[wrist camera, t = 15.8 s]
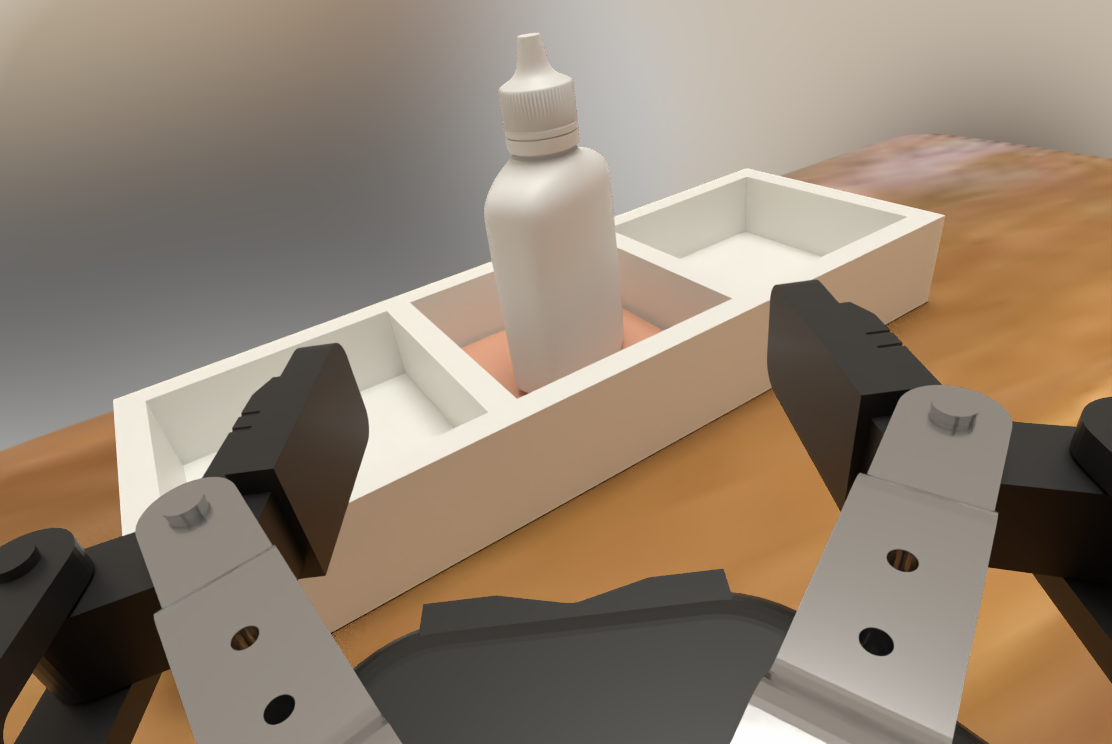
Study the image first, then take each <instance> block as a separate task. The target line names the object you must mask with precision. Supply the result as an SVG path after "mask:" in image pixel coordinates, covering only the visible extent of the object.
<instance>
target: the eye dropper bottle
mask: <svg viewBox="0 0 1112 744" xmlns="http://www.w3.org/2000/svg"><path fill="white" fill-rule="evenodd" d="M498 95H499V102H500V108H501V113H502V120H503V125H504V132H505V138H506V144H507V149H508V152H509V153H510V154H513V155H512V156H511V157H510V160H509V161H508V162H507V163H506V165H505V166H504V167H503V169H502V170H501V171H500V173H499V174H498V176H497V177H496V179H495V180H494V182H493V184H492V186H491V188H490V190H489V193H488V196H487V199H486V203H485V209H484V216H485V225H486V231H487V236H488V242H489V248H490V254H491V259H492V264H493V269H494V275H495V280H496V285H497V290H498V295H499V301H500V306H501V311H502V316H503V321H504V326H505V331H506V336H507V341H508V347H509V352H510V357H511V362H512V367H513V372H514V377H515V381H516V384H517V387H518V388H519V389H520V390H522V391H523V392H526V393H531V392H533V391H535V390H537V389H540V388H542V387H544V386H546V385H548V384H550V383H552V382H555V381H557V380H559V379H561V378H563V377H565V376H567V375H570V374H572V373H574V372H576V371H578V370H580V369H582V368H585V367H587V366H589V365H591V364H593V363H595V362H597V361H600V360H602V359H604V358H606V357H608V356H610V355H612V354H615V353H617V352H619V351H620V350H621V347H622V343H623V336H624V326H623V314H622V301H621V290H620V278H619V266H618V254H617V243H616V231H615V220H614V209H613V199H612V189H611V180H610V173H609V168H608V165H607V162H606V161H605V159H604V158H603V157H602V156H601V155H600V154H599V153H598V152H596V151H594V150H592V149H589V148H585V147H578V146H577V144H578V143H579V141H580V138H579V129H578V120H577V110H576V101H575V91H574V82H573V79H571V77H569V76H567V75H564V74H561V73H558V72H556V71H555V70H554V69H553V68H552V67H551V66H550V64H549V62H548V59H547V55H546V52H545V49H544V46H543V43H542V39H541V36H540V33H531V34H524V35H520V36H518V37H517V66H516V71H515V74H514V76H513V77H512V78H511V79H510V80H509V81H508V82H506V83H505V84H504V85H502V86H501V87H500V89H499V90H498Z"/></svg>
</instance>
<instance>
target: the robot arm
mask: <svg viewBox="0 0 1112 744" xmlns="http://www.w3.org/2000/svg"><path fill="white" fill-rule="evenodd" d="M767 369H768V375H769V380H770V383H771V386H772V389H773V391H774V393H775V395H776V397H777V398H778V400H779V402H780V404H781V406H782V407H783V409H784V411H785V413H786V415H787V416H788V418H789V420H790V422H791V423H792V425H793V427H794V429H795V431H796V432H797V434H798V436H799V438H800V440H801V441H802V443H803V445H804V447H805V449H806V450H807V452H808V454H809V456H810V458H811V459H812V461H813V463H814V465H815V467H816V468H817V470H818V472H819V474H820V476H821V477H822V479H823V481H824V483H825V485H826V486H827V488H828V490H829V492H830V493H831V495H832V497H833V499H834V501H835V502H836V504H837V506H838V508H839V510H840V511H841V513H840V515H839V517H838V520H837V522H836V524H835V526H834V529H833V531H832V533H831V535H830V538H829V540H828V542H827V544H826V547H825V549H824V551H823V553H822V556H821V558H820V560H819V562H818V565H817V567H816V569H815V571H814V574H813V576H812V578H811V580H810V583H809V585H808V587H807V589H806V592H805V594H804V596H803V598H802V601H801V603H800V605H799V608H798V610H797V611H796V610H793V609H791V608H789V607H786V606H784V605H782V604H779V603H776V602H773V601H770V600H767V599H764V598H760V597H756V596H751V595H746V594H741V593H733V592H730V588H729V585H728V582H727V579H726V576H725V573H724V570H723V569H717V570H709V571H700V572H692V573H683V574H675V575H666V576H658V577H650V578H646V579H643V580H640V581H638V582H635V583H632V584H629V585H626V586H623V587H620V588H618V589H615V590H612V591H609V592H606V593H603V594H601V595H598V596H595V597H592V598H589V599H586V600H583V601H580V602H577V603H559V602H550V601H541V600H531V599H522V598H513V597H504V596H489V597H481V598H472V599H464V600H456V601H447V602H439V603H430V604H423V611H422V617H421V624H420V629H419V630H416V631H414V632H411V633H409V634H407V635H405V636H402V637H400V638H398V639H396V640H394V641H392V642H391V643H389V644H387V645H386V646H384V647H382V648H381V649H379V650H377V651H376V652H374V653H373V654H372V655H370V656H369V657H368V658H366V659H365V660H363V661H362V662H361V663H360V664H358V665H357V666H356V667H355V668H354V669H353V668H352V667H351V665H350V663H349V662H348V660H347V659H346V657H345V655H344V654H343V652H342V651H341V649H340V648H339V646H338V644H337V643H336V641H335V640H334V638H333V636H332V635H331V633H330V632H329V630H328V628H327V627H326V625H325V624H324V622H323V620H322V619H321V617H320V616H319V614H318V612H317V611H316V609H315V608H314V606H313V604H312V603H311V601H310V600H309V598H308V597H307V595H306V593H305V592H304V590H303V589H302V587H301V585H300V584H299V582H298V579H304V578H312V577H320V576H326V573H327V570H328V567H329V564H330V561H331V557H332V554H333V551H334V548H335V545H336V542H337V538H338V535H339V532H340V529H341V526H342V523H343V519H344V516H345V513H346V510H347V507H348V503H349V500H350V497H351V494H352V491H353V488H354V484H355V481H356V478H357V475H358V472H359V468H360V465H361V462H362V459H363V456H364V453H365V449H366V446H367V443H368V439H369V421H368V415H367V411H366V408H365V405H364V402H363V399H362V396H361V394H360V391H359V388H358V385H357V383H356V380H355V377H354V374H353V371H352V369H351V366H350V363H349V360H348V357H347V355H346V352H345V350H344V348H343V347H342V346H341V345H340V344H339V343H330V344H323V345H315V346H308V347H301V348H297V349H296V350H295V351H294V353H293V354H292V356H291V358H290V360H289V362H288V363H287V365H286V367H285V369H284V370H283V372H282V374H281V376H278V377H273V378H271V379H270V380H269V381H268V382H267V383H265V384H264V385H263V386H262V387H261V388H260V389H258V390H257V391H256V392H255V393H254V394H252V396H251V398H250V399H249V401H248V402H247V404H246V406H245V407H244V409H243V411H242V412H241V417H238V419H237V421H236V422H235V424H234V426H233V427H232V432H229V434H228V436H227V437H226V439H225V441H224V442H223V444H222V446H221V447H220V449H219V450H218V452H217V454H216V455H215V457H214V459H213V460H212V462H211V464H210V465H209V467H208V469H207V470H206V472H205V474H204V475H203V477H202V478H200V479H197V480H193V481H190V482H187V483H184V484H182V485H180V486H178V487H175V488H174V489H172V490H170V491H168V492H167V493H165V494H164V495H162V496H161V497H159V498H158V499H157V500H155V501H154V502H153V503H152V504H151V505H150V506H149V507H148V508H147V509H146V510H145V511H144V512H143V514H142V515H141V517H140V518H139V520H138V522H137V525H136V529H135V532H133V533H130V534H127V535H124V536H121V537H118V538H116V539H113V540H110V541H107V542H104V543H101V544H98V545H95V546H92V547H89V548H86V549H83V547H82V546H81V545H80V543H79V542H78V541H77V539H76V538H75V537H74V536H73V534H72V533H71V532H70V531H68V530H66V529H62V528H49V529H43V530H38V531H35V532H31V533H28V534H26V535H23V536H21V537H18V538H16V539H14V540H12V541H10V542H8V543H6V544H5V545H3V546H1V547H0V744H4V740H3V729H4V723H5V720H6V717H7V714H8V712H9V710H10V708H11V707H12V705H13V703H14V702H15V700H16V699H17V697H18V695H19V694H20V692H21V691H22V689H23V687H24V686H25V684H26V682H27V681H28V679H29V678H30V676H31V674H32V673H33V674H34V675H35V676H36V677H37V678H38V679H39V680H40V681H41V682H42V683H43V684H44V685H45V686H46V687H47V688H46V690H45V691H44V693H43V695H42V697H41V698H40V700H39V702H38V703H37V705H36V707H35V709H34V710H33V712H32V714H31V715H30V717H29V719H28V721H27V722H26V724H25V726H24V727H23V729H22V731H21V733H20V734H19V736H18V738H17V739H16V741H15V743H14V744H131V742H132V740H133V738H134V735H135V733H136V731H137V728H138V726H139V724H140V722H141V719H142V717H143V715H144V712H145V710H146V708H147V706H148V703H149V701H150V699H151V696H152V694H153V692H154V690H155V687H156V685H157V683H158V680H159V678H160V676H161V673H162V672H164V671H166V670H169V669H171V671H172V674H173V677H174V680H175V683H176V686H177V689H178V692H179V695H180V697H181V700H182V703H183V706H184V709H185V712H186V715H187V718H188V721H189V724H190V727H191V730H192V733H193V736H194V739H195V741H196V744H989V743H988V742H986V741H985V740H983V739H982V738H980V737H979V736H978V735H976V734H975V733H973V732H972V731H971V730H969V729H968V728H966V727H965V726H964V725H962V724H961V723H959V722H958V721H957V716H958V711H959V706H960V701H961V696H962V691H963V686H964V681H965V677H966V672H967V667H968V662H969V657H970V652H971V647H972V642H973V637H974V633H975V628H976V623H977V618H978V613H979V608H980V603H981V598H982V593H983V588H984V584H985V579H986V574H987V569H988V567H990V568H997V569H1004V570H1012V571H1019V572H1026V573H1033V575H1034V577H1035V578H1036V579H1037V581H1038V582H1039V583H1040V585H1041V586H1042V588H1043V589H1044V590H1045V592H1046V593H1047V594H1048V596H1049V597H1050V599H1051V600H1052V601H1053V603H1054V604H1055V606H1056V607H1057V608H1058V610H1059V611H1060V612H1061V614H1062V615H1063V617H1064V618H1065V619H1066V621H1067V622H1068V624H1069V625H1070V626H1071V628H1072V629H1073V630H1074V632H1075V633H1076V635H1077V636H1078V637H1079V639H1080V640H1081V642H1082V643H1083V644H1084V646H1085V647H1086V648H1087V650H1088V651H1089V653H1090V654H1091V655H1092V657H1093V658H1094V659H1095V661H1096V662H1097V664H1098V665H1099V666H1100V668H1101V669H1102V671H1103V672H1104V673H1105V675H1106V676H1107V677H1108V679H1109V680H1110V682H1111V683H1112V397H1107V398H1101V399H1098V400H1095V401H1093V402H1091V403H1089V404H1088V405H1087V406H1085V408H1084V409H1083V411H1082V414H1081V416H1080V419H1079V421H1078V424H1077V427H1071V426H1058V425H1045V424H1032V423H1021V422H1013V421H1012V419H1011V416H1010V415H1009V413H1008V412H1007V410H1006V409H1005V408H1004V407H1003V406H1002V405H1000V404H999V403H998V402H996V401H995V400H993V399H991V398H990V397H988V396H986V395H983V394H981V393H979V392H976V391H973V390H970V389H966V388H962V387H956V386H949V385H942V384H941V383H940V382H939V381H938V380H937V379H936V378H935V377H934V376H933V375H932V374H931V373H930V372H929V371H928V370H927V369H926V367H925V366H924V365H923V364H922V363H921V362H920V361H919V360H918V359H917V358H916V357H915V356H914V355H913V354H912V353H911V352H910V351H909V350H908V348H907V347H906V346H902V342H901V341H900V340H899V339H898V338H897V337H896V336H895V335H894V334H893V333H890V329H889V328H888V327H887V326H886V325H885V324H884V323H883V322H882V321H881V320H880V319H879V318H878V317H877V316H876V315H875V314H874V313H872V312H870V311H868V310H866V309H864V308H862V307H860V306H858V305H856V304H854V303H852V302H844V303H839V302H838V301H837V300H836V299H835V298H834V297H833V296H832V294H831V293H830V292H829V291H828V290H827V289H826V288H825V286H824V285H823V284H822V283H821V282H820V281H819V280H817V279H815V280H807V281H800V282H792V283H785V284H777V285H774V287H773V288H772V291H771V296H770V311H769V329H768V347H767Z"/></svg>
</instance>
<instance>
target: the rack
mask: <svg viewBox="0 0 1112 744" xmlns="http://www.w3.org/2000/svg"><path fill="white" fill-rule="evenodd" d="M944 219H945V215H942V214H937V213H933V212H929V211H925V210H920V209H916V208H912V207H908V206H904V205H899V204H895V203H891V202H887V201H882V200H878V199H874V198H870V197H866V196H861V195H857V194H853V193H849V192H844V191H840V190H836V189H832V188H828V187H823V186H819V185H815V184H811V183H806V182H802V181H798V180H794V179H790V178H785V177H781V176H777V175H773V174H768V173H764V172H760V171H756V170H752V169H747V168H746V169H743V170H741V171H738V172H735V173H732V174H730V175H727V176H724V177H722V178H719V179H716V180H713V181H711V182H708V183H705V184H702V185H700V186H697V187H694V188H691V189H689V190H686V191H683V192H680V193H678V194H675V195H672V196H670V197H667V198H664V199H661V200H658V201H656V202H653V203H650V204H648V205H645V206H642V207H640V208H637V209H634V210H631V211H629V212H626V213H623V214H620V215H618V216H615V217H614V220H615V231H616V243H617V254H618V266H619V278H620V290H621V301H622V314H623V326H624V336H623V343H622V347H621V350H620V351H619V352H617V353H615V354H612V355H610V356H608V357H606V358H604V359H602V360H600V361H597V362H595V363H593V364H591V365H589V366H587V367H585V368H582V369H580V370H578V371H576V372H574V373H572V374H570V375H567V376H565V377H563V378H561V379H559V380H557V381H555V382H552V383H550V384H548V385H546V386H544V387H542V388H540V389H537V390H535V391H533V392H531V393H526V392H523V391H522V390H520V389H519V388H518V387H517V384H516V381H515V377H514V372H513V367H512V362H511V357H510V352H509V347H508V341H507V336H506V331H505V326H504V321H503V316H502V311H501V306H500V301H499V295H498V290H497V285H496V280H495V275H494V269H493V264H492V262H489V263H486V264H484V265H481V266H478V267H475V268H473V269H470V270H467V271H464V272H462V273H459V274H457V275H454V276H451V277H448V278H445V279H442V280H440V281H437V282H434V283H432V284H429V285H426V286H423V287H421V288H418V289H415V290H412V291H410V292H407V293H404V294H401V295H399V296H396V297H393V298H391V299H388V300H385V301H382V302H380V303H377V304H374V305H371V306H369V307H366V308H363V309H360V310H358V311H355V312H352V313H350V314H347V315H344V316H341V317H339V318H336V319H333V320H331V321H328V322H325V323H322V324H319V325H317V326H314V327H311V328H309V329H306V330H303V331H300V332H298V333H295V334H292V335H289V336H287V337H284V338H281V339H278V340H276V341H273V342H270V343H267V344H265V345H262V346H259V347H257V348H254V349H251V350H248V351H246V352H243V353H240V354H237V355H235V356H232V357H229V358H227V359H224V360H221V361H218V362H215V363H213V364H210V365H207V366H205V367H202V368H199V369H196V370H194V371H191V372H188V373H185V374H183V375H180V376H177V377H174V378H172V379H169V380H166V381H164V382H161V383H158V384H155V385H153V386H150V387H147V388H144V389H142V390H139V391H136V392H133V393H131V394H128V395H125V396H123V397H120V398H117V399H114V400H113V404H114V420H115V434H116V449H117V464H118V478H119V493H120V508H121V522H122V536H124V535H127V534H130V533H133V532H135V529H136V525H137V522H138V520H139V518H140V517H141V515H142V514H143V512H144V511H145V510H146V509H147V508H148V507H149V506H150V505H151V504H152V503H153V502H154V501H155V500H157V499H158V498H159V497H161V496H162V495H164V494H165V493H167V492H168V491H170V490H172V489H174V488H175V487H178V486H180V485H182V484H184V483H187V482H190V481H193V480H197V479H200V478H202V477H203V475H204V474H205V472H206V470H207V469H208V467H209V465H210V464H211V462H212V460H213V459H214V457H215V455H216V454H217V452H218V450H219V449H220V447H221V446H222V444H223V442H224V441H225V439H226V437H227V436H228V434H229V432H232V427H233V426H234V424H235V422H236V421H237V419H238V417H241V412H242V411H243V409H244V407H245V406H246V404H247V402H248V401H249V399H250V398H251V396H252V394H254V393H255V392H256V391H257V390H258V389H260V388H261V387H262V386H263V385H264V384H265V383H267V382H268V381H269V380H270V379H271V378H273V377H278V376H281V374H282V372H283V370H284V369H285V367H286V365H287V363H288V362H289V360H290V358H291V356H292V354H293V353H294V351H295V350H296V349H297V348H301V347H308V346H315V345H323V344H330V343H339V344H340V345H341V346H342V347H343V348H344V350H345V352H346V355H347V357H348V360H349V363H350V366H351V369H352V371H353V374H354V377H355V380H356V383H357V385H358V388H359V391H360V394H361V396H362V399H363V402H364V405H365V408H366V411H367V415H368V421H369V439H368V443H367V446H366V449H365V453H364V456H363V459H362V462H361V465H360V468H359V472H358V475H357V478H356V481H355V484H354V488H353V491H352V494H351V497H350V500H349V503H348V507H347V510H346V513H345V516H344V519H343V523H342V526H341V529H340V532H339V535H338V538H337V542H336V545H335V548H334V551H333V554H332V557H331V561H330V564H329V567H328V570H327V573H326V576H320V577H312V578H304V579H298V582H299V584H300V585H301V587H302V589H303V590H304V592H305V593H306V595H307V597H308V598H309V600H310V601H311V603H312V604H313V606H314V608H315V609H316V611H317V612H318V614H319V616H320V617H321V619H322V620H323V622H324V624H325V625H326V627H327V628H328V630H329V632H330V633H332V632H334V631H335V630H337V629H339V628H341V627H343V626H344V625H346V624H348V623H350V622H352V621H353V620H355V619H357V618H359V617H361V616H362V615H364V614H366V613H368V612H370V611H371V610H373V609H375V608H377V607H379V606H380V605H382V604H384V603H386V602H387V601H389V600H391V599H393V598H395V597H396V596H398V595H400V594H402V593H404V592H405V591H407V590H409V589H411V588H413V587H414V586H416V585H418V584H420V583H422V582H423V581H425V580H427V579H429V578H431V577H432V576H434V575H436V574H438V573H440V572H441V571H443V570H445V569H447V568H449V567H450V566H452V565H454V564H456V563H458V562H459V561H461V560H463V559H465V558H467V557H468V556H470V555H472V554H474V553H476V552H477V551H479V550H481V549H483V548H485V547H486V546H488V545H490V544H492V543H494V542H495V541H497V540H499V539H501V538H503V537H504V536H506V535H508V534H510V533H512V532H513V531H515V530H517V529H519V528H521V527H522V526H524V525H526V524H528V523H530V522H531V521H533V520H535V519H537V518H539V517H540V516H542V515H544V514H546V513H548V512H549V511H551V510H553V509H555V508H557V507H558V506H560V505H562V504H564V503H566V502H567V501H569V500H571V499H573V498H575V497H576V496H578V495H580V494H582V493H584V492H585V491H587V490H589V489H591V488H593V487H594V486H596V485H598V484H600V483H602V482H603V481H605V480H607V479H609V478H611V477H612V476H614V475H616V474H618V473H620V472H621V471H623V470H625V469H627V468H629V467H630V466H632V465H634V464H636V463H638V462H639V461H641V460H643V459H645V458H647V457H648V456H650V455H652V454H654V453H656V452H657V451H659V450H661V449H663V448H665V447H666V446H668V445H670V444H672V443H674V442H675V441H677V440H679V439H681V438H683V437H684V436H686V435H688V434H690V433H692V432H693V431H695V430H697V429H699V428H701V427H702V426H704V425H706V424H708V423H710V422H711V421H713V420H715V419H717V418H719V417H720V416H722V415H724V414H726V413H728V412H729V411H731V410H733V409H735V408H737V407H738V406H740V405H742V404H744V403H746V402H747V401H749V400H751V399H753V398H755V397H756V396H758V395H760V394H762V393H764V392H765V391H767V390H769V389H771V388H772V386H771V383H770V380H769V375H768V369H767V347H768V329H769V311H770V296H771V291H772V288H773V287H774V285H777V284H785V283H792V282H800V281H807V280H815V279H817V280H819V281H820V282H821V283H822V284H823V285H824V286H825V288H826V289H827V290H828V291H829V292H830V293H831V294H832V296H833V297H834V298H835V299H836V300H837V301H838V302H839V303H844V302H852V303H854V304H856V305H858V306H860V307H862V308H864V309H866V310H868V311H870V312H872V313H874V314H875V315H876V316H877V317H878V318H879V319H880V320H881V321H882V322H883V323H884V324H885V325H886V324H888V323H889V322H891V321H893V320H895V319H897V318H898V317H900V316H902V315H904V314H906V313H907V312H909V311H911V310H913V309H915V308H916V307H918V306H920V305H922V304H924V303H925V302H927V301H928V298H929V293H930V288H931V283H932V278H933V273H934V268H935V263H936V258H937V254H938V249H939V244H940V239H941V234H942V229H943V224H944Z"/></svg>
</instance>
